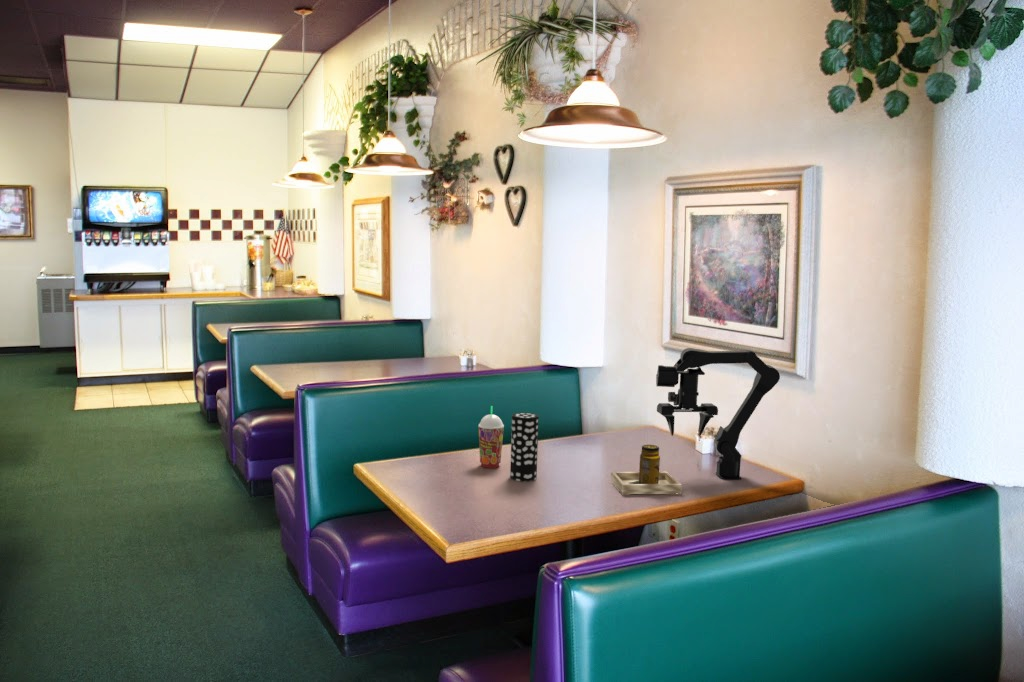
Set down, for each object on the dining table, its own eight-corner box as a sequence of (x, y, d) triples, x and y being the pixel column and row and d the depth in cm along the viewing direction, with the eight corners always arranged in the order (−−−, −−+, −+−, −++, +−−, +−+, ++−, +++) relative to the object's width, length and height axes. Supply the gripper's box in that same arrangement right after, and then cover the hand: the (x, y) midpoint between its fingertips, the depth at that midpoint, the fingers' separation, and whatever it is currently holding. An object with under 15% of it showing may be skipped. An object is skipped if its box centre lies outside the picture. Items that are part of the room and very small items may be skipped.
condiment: (664, 485, 265) (666, 447, 263) (643, 489, 260) (645, 450, 259) (648, 479, 271) (650, 442, 269) (627, 483, 266) (629, 445, 265)
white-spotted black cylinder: (540, 476, 275) (542, 414, 272) (530, 483, 267) (532, 419, 265) (516, 472, 278) (518, 411, 276) (505, 479, 271) (507, 416, 268)
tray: (666, 480, 274) (667, 471, 273) (680, 494, 260) (681, 484, 260) (610, 481, 271) (611, 472, 271) (622, 495, 258) (622, 485, 257)
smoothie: (473, 467, 283) (474, 407, 280) (483, 461, 291) (485, 402, 288) (496, 470, 280) (498, 409, 277) (506, 464, 288) (508, 405, 285)
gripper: (707, 383, 287) (704, 429, 289) (653, 383, 285) (650, 429, 287) (719, 389, 276) (717, 437, 278) (663, 389, 274) (660, 437, 276)
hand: (685, 435), depth 280 cm, fingers open, 9 cm apart
